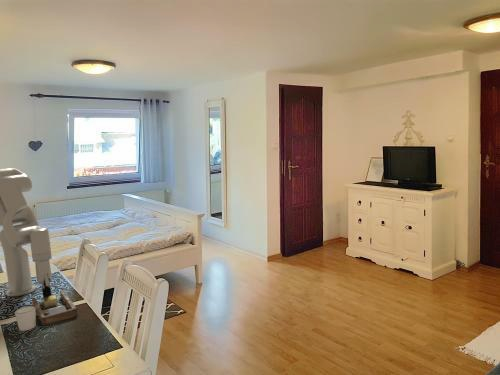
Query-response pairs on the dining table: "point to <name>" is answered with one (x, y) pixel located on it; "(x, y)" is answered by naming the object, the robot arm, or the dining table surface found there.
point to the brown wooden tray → (57, 316)
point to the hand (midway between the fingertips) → (47, 296)
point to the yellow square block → (50, 301)
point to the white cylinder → (26, 318)
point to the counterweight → (56, 310)
